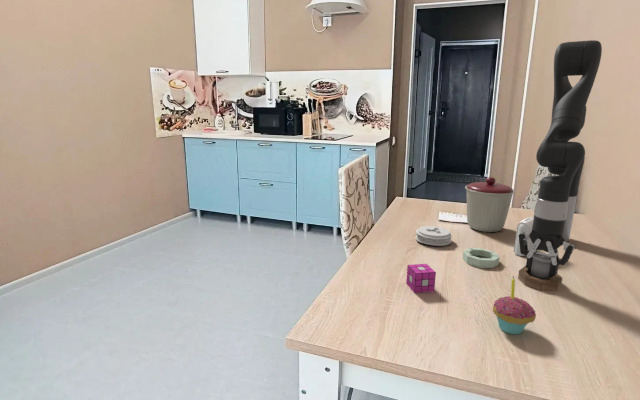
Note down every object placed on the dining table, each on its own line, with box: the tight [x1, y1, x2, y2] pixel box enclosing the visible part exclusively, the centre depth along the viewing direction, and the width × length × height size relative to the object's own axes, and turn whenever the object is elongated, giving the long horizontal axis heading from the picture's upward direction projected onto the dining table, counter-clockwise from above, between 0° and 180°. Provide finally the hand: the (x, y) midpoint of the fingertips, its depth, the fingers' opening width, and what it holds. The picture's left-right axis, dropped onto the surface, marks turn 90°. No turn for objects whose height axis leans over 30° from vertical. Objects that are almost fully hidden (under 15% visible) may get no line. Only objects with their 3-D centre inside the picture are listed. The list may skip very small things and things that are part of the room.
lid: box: [415, 225, 453, 247], centre depth 141 cm, size 13×13×5 cm
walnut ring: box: [517, 266, 563, 292], centre depth 110 cm, size 10×10×2 cm
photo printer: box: [513, 216, 539, 257], centre depth 130 cm, size 10×4×12 cm, turn 123°
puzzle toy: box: [405, 263, 437, 294], centre depth 105 cm, size 6×6×6 cm
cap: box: [530, 252, 552, 280], centre depth 109 cm, size 5×5×6 cm
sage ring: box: [462, 247, 501, 269], centre depth 124 cm, size 10×10×2 cm
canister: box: [464, 176, 516, 233], centre depth 154 cm, size 18×18×21 cm
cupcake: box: [492, 275, 537, 335], centre depth 86 cm, size 9×8×12 cm
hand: (540, 272), depth 109 cm, fingers closed on cap, 5 cm apart
